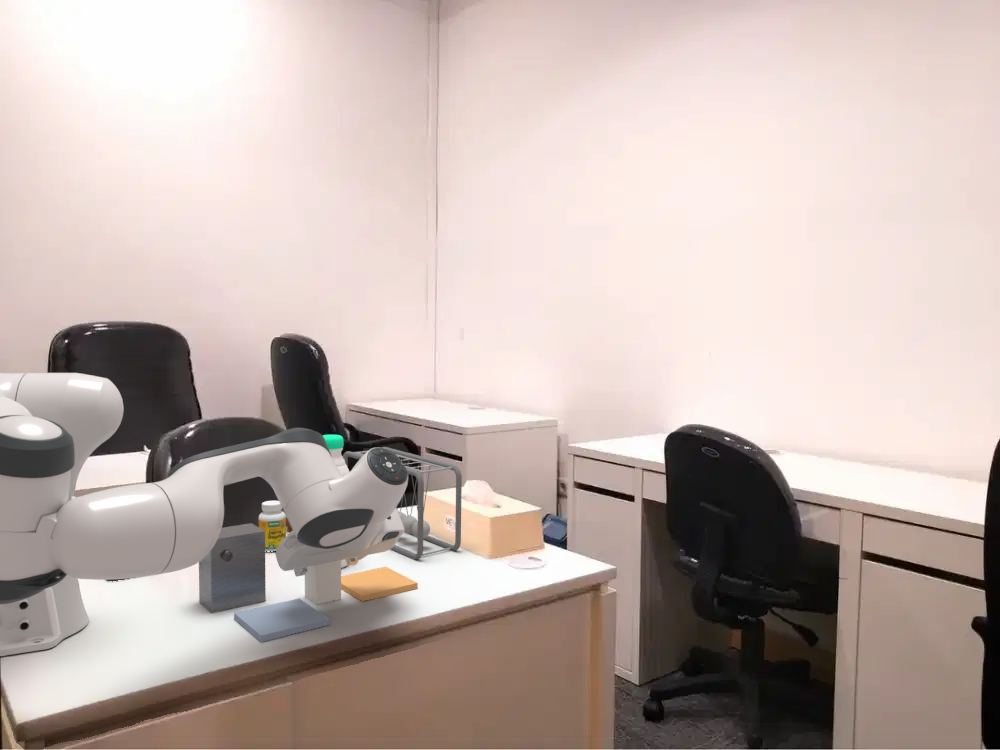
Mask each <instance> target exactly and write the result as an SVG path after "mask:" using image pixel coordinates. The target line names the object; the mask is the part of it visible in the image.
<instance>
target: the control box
mask: <svg viewBox="0 0 1000 750" xmlns="http://www.w3.org/2000/svg"><path fill="white" fill-rule="evenodd" d="M198 591H199V592H198V598H199V603H200V604H201V605H202V606H203V607H205V608H206V609H207V610H208V611H209V612H210V613H212V614H213V613H218V612H223V611H228V610H232V609H236V608H241V607H245V606H250V605H255V604H259V603H264V602H266V599H267V597H266V595H267V594H266V552H265V531H264V530H262V529H261V528H259V526H257V525H256V524H253V523H245V524H239V525H231V526H225V527H222V528H221V532H220V535H219V537H218V539H217V541H216V543H215V545H214V547H213V548H212V550H211V551H210V552H209V553H208V554H207V555H206V556H205V557H204V558H203V559H202V560H201V561H200V562H198Z"/></svg>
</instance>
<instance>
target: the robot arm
mask: <svg viewBox="0 0 1000 750" xmlns="http://www.w3.org/2000/svg"><path fill="white" fill-rule="evenodd" d="M124 411H125V410H124V402H123V397H122V395H121V393H120V391H119V389H118V388H117V386H116V385H115V384H114V383H113V381H111V380H110V379H109V378H107V377H102V376H97V375H93V374H91V375H90V374H86V373H79V372H0V657H5V656H10V655H18V654H24V653H30V652H37V651H44V650H49V649H51V648H54V647H55V646H57V645H58V644H60V643H61V641H62V640H64V639H65V638H67V637H69V636H72V635H74V634H76V633H78V632H79V631H81V630H82V629H84V628H85V627H86V626H87V625H88V624H89V616H88V614H87V611H86V607H85V604H84V602H83V601H84V600H83V598H82V592H81V588H80V582H79V580H97V581H99V580H102V581H103V580H105V581H107V580H110V579H127V580H129V579H128V578H133V579H136V578H137V577H138V578H142V577H143V578H144V577H150V576H158V575H163V574H170V573H173V572H178V571H182V570H184V569H187V568H190V567H193V566H194V565H197V564H199V562H200V561H201V560H202V559H203V558H204V557H205V556H206V555H207V554H208V553H209V552H210V551H211V550H212V548H213V547H214V545H215V543H216V541H217V539H218V537H219V535H220V532H221V528H223V524H224V517H225V504H224V503H225V502H224V500H225V499H224V487H225V486H228V485H232V484H235V483H238V482H243V481H246V480H249V479H253V478H257V477H260V478H262V479H263V480H265V482H266V483H268V485H269V486H270V487H271V488H272V489H273V491H274V494H275V496H276V498H277V501H279V502H280V504H281V506H282V511H283V512H284V513H285V515H286V517H287V519H288V521H289V523H290V525H291V527H292V529H293V531H291V532H289V533H287V534H286V537H285V538H284V539H283V541H282V542H281V543H280V545H279V546H278V548H277V549H276V552H274V553H275V554H274V555H275V558H276V561H277V564H278V567H279V568H280V569H281V570H282V571H284V572H287V571H288V572H289V571H293V572H294V575H295V577H301V576H305V573H306V572H307V571H308V570H307V567H309V566H314V565H319V564H324V563H329V562H335V561H340V560H345V561H346V562H347V566H346V567H351V566H355V565H357V564H358V563H359V561H361V560H362V559H364V558H367V556H370V555H375V554H379V553H385V552H387V551H389V550H391V548H393V547H394V545H396V544H397V543H398V541H399V540H400V538H401V536H402V535H403V534H405V533H404V531H405V529H404V526H403V523H402V520H401V517H400V515H399V513H398V511H399V510H398V511H397V509H398V505H399V504H400V502H401V501H402V497H404V495H403V494H404V492H406V489H407V487H408V483H409V474H408V471H407V469H406V467H405V466H406V464H405V463H403V460H402V459H401V457H398V456H397V455H396V454H394V453H393V452H391V451H390V450H387V449H385V448H383V447H373V448H370V449H369V450H366V451H367V452H366V453H363V454H364V455H363V456H362V457H361V458H360V460H359V459H358V460H357V462H356V463H355V465H354V466H353V467H352V469H351V470H349V473H347V474H346V475H344V476H341V474H340V472H339V470H338V468H337V466H336V464H335V463H334V461H333V459H332V456H331V453H330V451H329V448H328V446H327V444H326V441H325V439H324V437H323V434H321V433H320V432H319V431H315V430H313V429H309V428H305V427H293V428H292V427H291V428H289V429H286V430H283V431H280V432H279V433H278V432H277V433H276V434H273V435H271V436H268V437H266V438H260V439H255V440H252V441H247V442H242V443H239V444H233V445H229V446H225V447H221V448H217V449H212V450H207V451H205V452H201V453H197V454H195V455H192V456H190V457H187V458H185V459H183V460H181V461H179V462H177V463H175V465H174V466H172V467H171V468H170V470H169V471H168V472H167V475H166V478H164V479H162V480H159V481H155V482H147V483H146V482H145V483H137V484H130V485H122V486H117V487H111V488H107V489H102V490H97V491H94V492H91V493H86V494H84V495H80V496H76V488H77V487H76V486H77V481H78V478H79V474H80V472H81V470H82V468H83V466H84V464H85V463H86V461H87V460H88V458H89V457H90V456H91V455H92V453H94V451H95V450H97V448H99V447H100V446H101V445H102V444H103V443H105V442H106V441H107V440H109V439H110V438H111V437H113V435H114V434H115V433H116V432H117V430H118V429H119V427H120V425H121V423H122V420H123V418H124ZM401 460H402V461H401ZM396 507H397V508H396ZM138 578H137V579H138Z"/></svg>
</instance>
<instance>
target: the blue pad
mask: <svg viewBox="0 0 1000 750" xmlns="http://www.w3.org/2000/svg"><path fill="white" fill-rule="evenodd" d="M233 618H234V619H233V620H235V621H236V622H237V623H239V624H240V626H242V627H243V628H244V629H245V630H246V631H248V632H249V633H250V635H252V636H253V637H255V638H256V640H258V641H259V642H261V643H263V642H267V641H268V642H269V641H271V640H276V639H280V638H284V637H287V635H288V636H291V634H292V635H295V633H296V634H299V632H300V633H304V632H308V631H312V630H315V629H319V627H320V628H323V626H324V627H327V625H328V626H330V618H329V617H327V616H326V615H324V614H323V613H322V612H320V611H319V610H317V609H316V608H314V607H313V606H311V604H308V603H307V602H305V601H304V600H303V599H301V598H300V597H299V598H298V597H297V598H295V599H290V600H286V601H281V602H276V603H272V604H267V605H263V606H258V607H254V608H250V609H249V608H248V609H246V610H245V609H244V610H241V611H240V610H239V611H236V612H234V613H233ZM314 628H315V629H314ZM311 629H312V630H311ZM307 630H308V631H307ZM303 631H304V632H303Z"/></svg>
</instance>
